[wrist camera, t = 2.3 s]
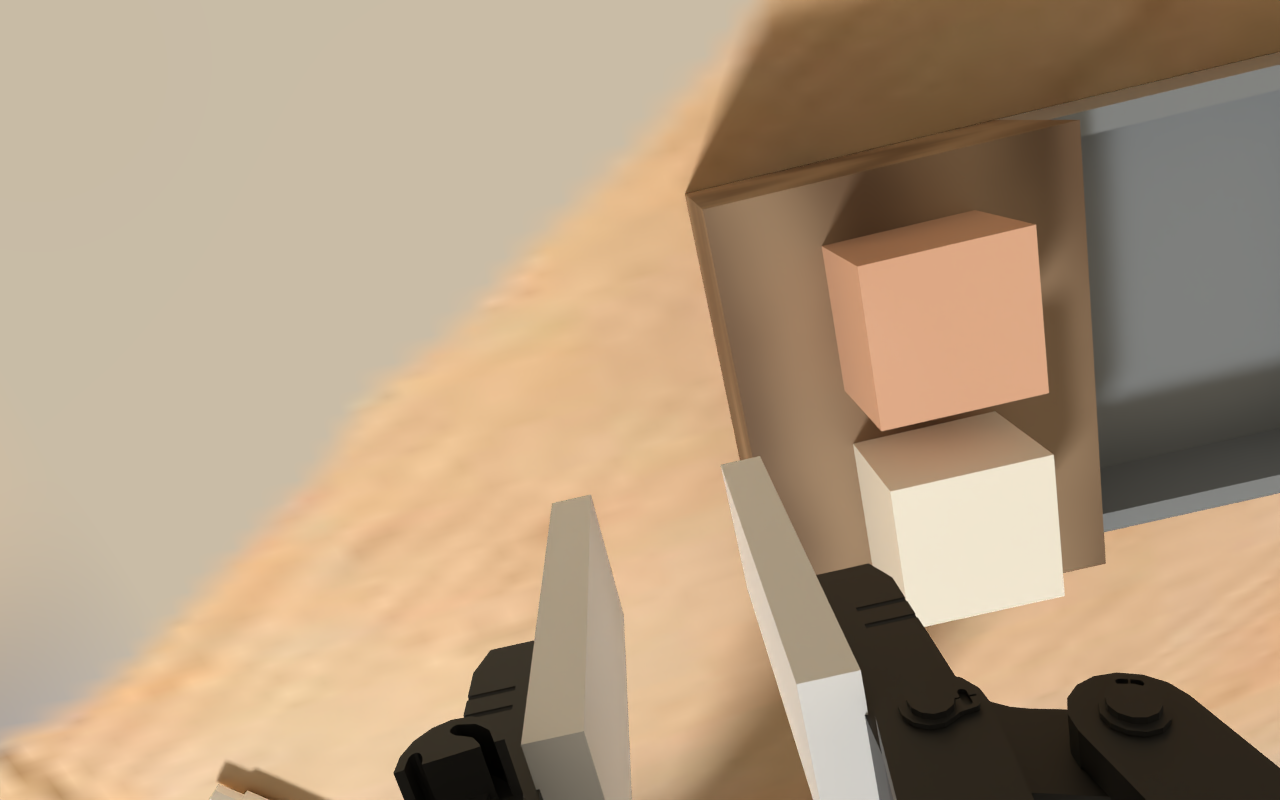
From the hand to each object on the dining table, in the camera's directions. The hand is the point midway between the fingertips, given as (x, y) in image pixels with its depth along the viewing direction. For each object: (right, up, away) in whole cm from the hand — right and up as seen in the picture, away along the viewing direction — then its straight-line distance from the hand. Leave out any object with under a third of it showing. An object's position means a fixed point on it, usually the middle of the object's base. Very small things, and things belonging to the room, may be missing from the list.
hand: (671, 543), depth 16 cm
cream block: (+10, -1, +14) cm, 17 cm away
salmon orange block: (+8, +6, +12) cm, 15 cm away
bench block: (+9, +5, +18) cm, 21 cm away
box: (+21, +8, +18) cm, 29 cm away
